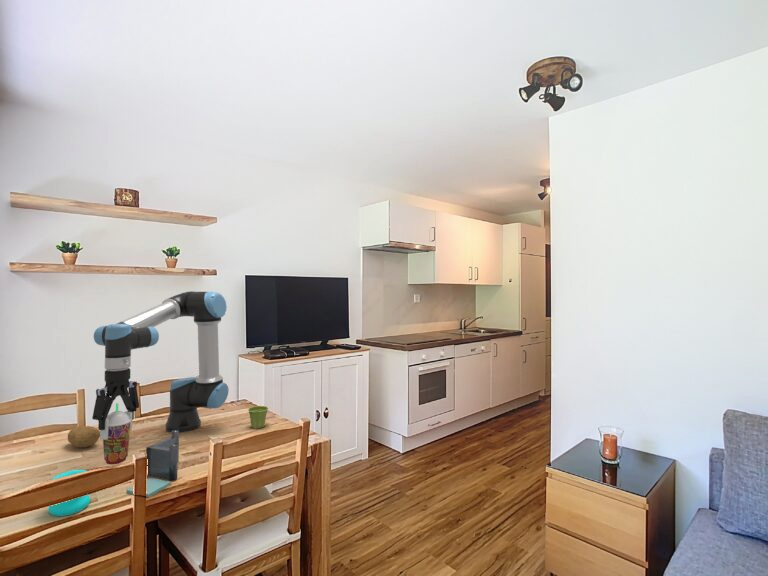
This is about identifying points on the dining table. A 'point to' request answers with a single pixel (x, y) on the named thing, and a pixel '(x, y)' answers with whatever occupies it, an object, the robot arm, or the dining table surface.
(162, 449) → the magazine holder
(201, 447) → the dining table surface
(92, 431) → the potato
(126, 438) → the smoothie
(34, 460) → the dining table surface
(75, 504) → the teal ball
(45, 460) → the dining table surface
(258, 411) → the plant pot
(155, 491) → the pad
